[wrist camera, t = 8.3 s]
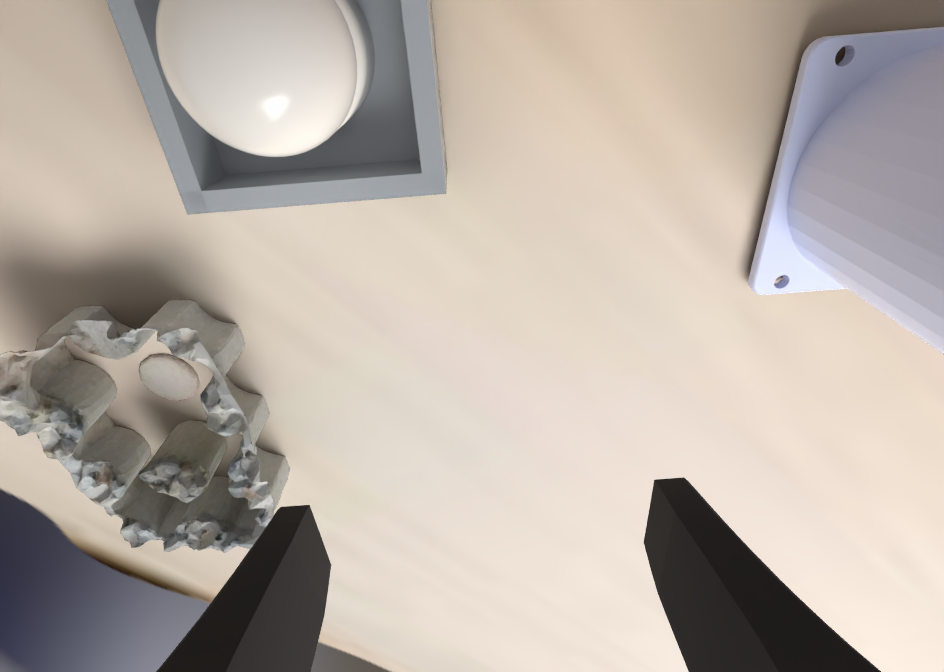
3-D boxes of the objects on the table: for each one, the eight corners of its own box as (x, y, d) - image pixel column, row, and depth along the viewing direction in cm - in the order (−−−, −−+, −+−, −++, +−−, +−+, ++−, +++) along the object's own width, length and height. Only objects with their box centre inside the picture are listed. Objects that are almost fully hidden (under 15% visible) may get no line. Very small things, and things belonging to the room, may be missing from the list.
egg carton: (42, 293, 18) (-56, 356, 15) (251, 290, 18) (203, 351, 15) (143, 496, 24) (89, 577, 20) (303, 492, 24) (277, 572, 21)
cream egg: (359, -48, 12) (311, -83, 8) (386, 125, 15) (358, 168, 10) (198, -34, 13) (68, -62, 8) (248, 137, 15) (164, 184, 10)
